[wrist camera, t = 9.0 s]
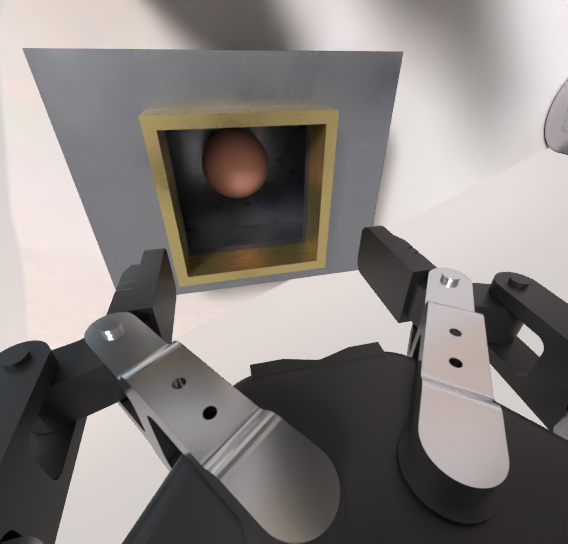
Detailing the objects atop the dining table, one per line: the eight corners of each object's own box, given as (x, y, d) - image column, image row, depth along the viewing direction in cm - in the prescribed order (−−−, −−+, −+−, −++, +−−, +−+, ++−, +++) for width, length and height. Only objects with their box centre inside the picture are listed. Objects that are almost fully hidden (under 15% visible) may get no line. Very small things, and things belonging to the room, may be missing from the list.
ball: (261, 122, 24) (273, 134, 20) (263, 184, 27) (274, 205, 23) (196, 124, 24) (196, 137, 20) (206, 188, 26) (207, 211, 22)
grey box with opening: (340, 55, 24) (432, 50, 14) (326, 221, 32) (379, 287, 22) (84, 53, 20) (-10, 45, 11) (140, 241, 28) (112, 327, 19)
